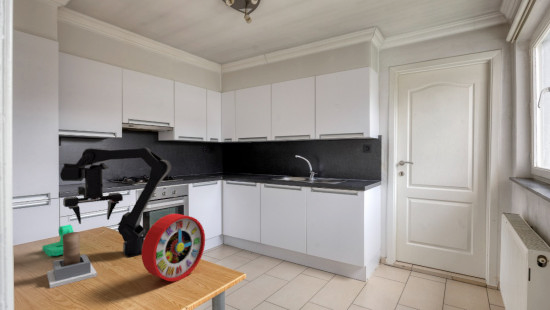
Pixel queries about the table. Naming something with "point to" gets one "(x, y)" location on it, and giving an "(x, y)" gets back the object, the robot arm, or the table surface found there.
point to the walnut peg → (71, 248)
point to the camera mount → (57, 247)
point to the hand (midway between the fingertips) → (94, 221)
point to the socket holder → (70, 272)
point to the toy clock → (173, 247)
